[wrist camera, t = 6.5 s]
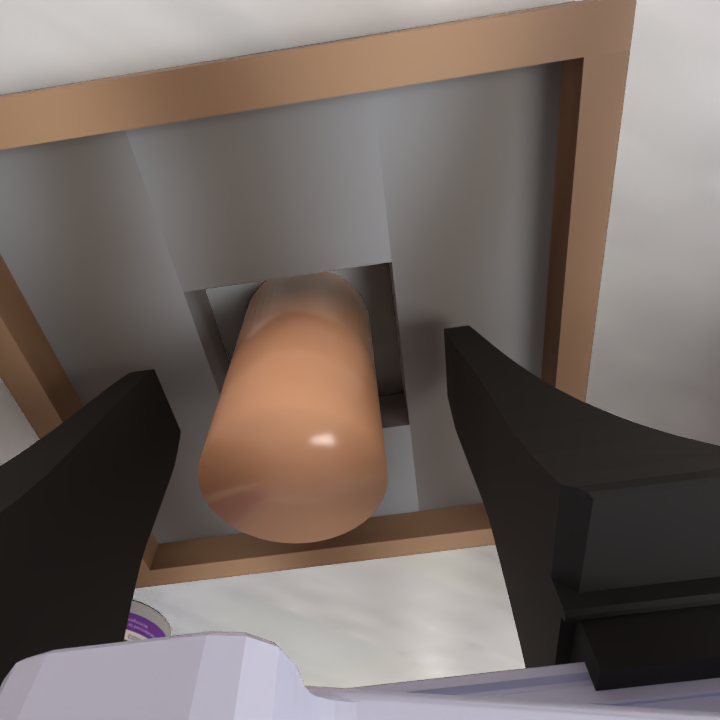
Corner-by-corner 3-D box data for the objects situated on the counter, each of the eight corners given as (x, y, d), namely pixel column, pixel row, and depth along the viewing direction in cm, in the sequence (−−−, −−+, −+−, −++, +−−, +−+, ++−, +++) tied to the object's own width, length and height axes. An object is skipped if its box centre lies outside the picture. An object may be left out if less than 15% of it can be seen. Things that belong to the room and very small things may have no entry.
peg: (368, 265, 14) (387, 402, 9) (370, 373, 16) (388, 538, 11) (236, 271, 14) (178, 413, 9) (255, 379, 16) (216, 548, 11)
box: (577, 1, 11) (637, -6, 9) (541, 477, 18) (567, 535, 16) (-67, 106, 11) (-160, 123, 9) (156, 525, 19) (134, 588, 17)
